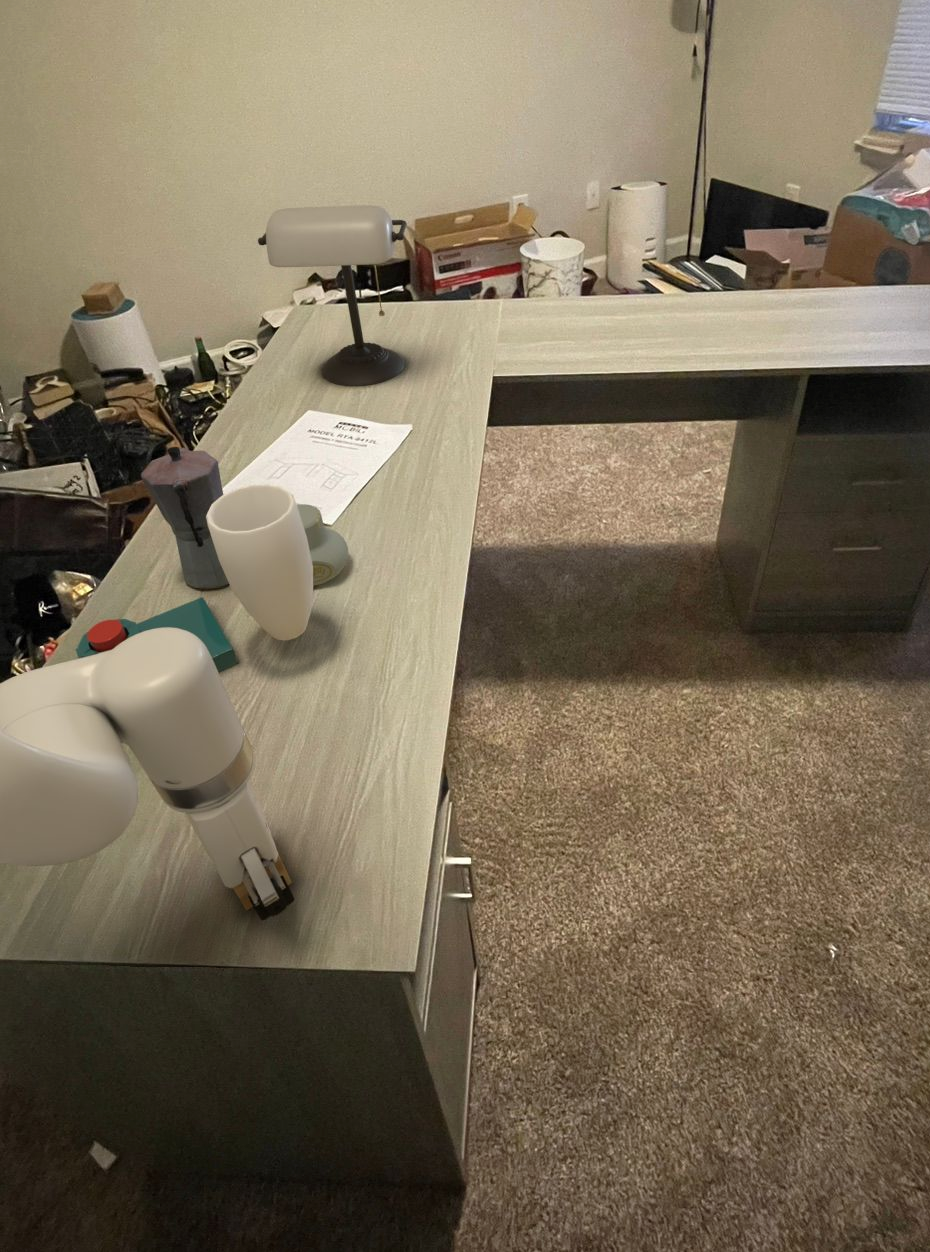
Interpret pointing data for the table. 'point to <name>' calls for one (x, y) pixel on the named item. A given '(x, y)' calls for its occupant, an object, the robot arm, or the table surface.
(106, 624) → the red button
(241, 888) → the block
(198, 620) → the button base
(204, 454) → the moka pot
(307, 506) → the air freshener
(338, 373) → the lamp
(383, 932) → the table surface
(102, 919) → the table surface
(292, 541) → the cup
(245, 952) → the table surface
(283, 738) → the table surface
